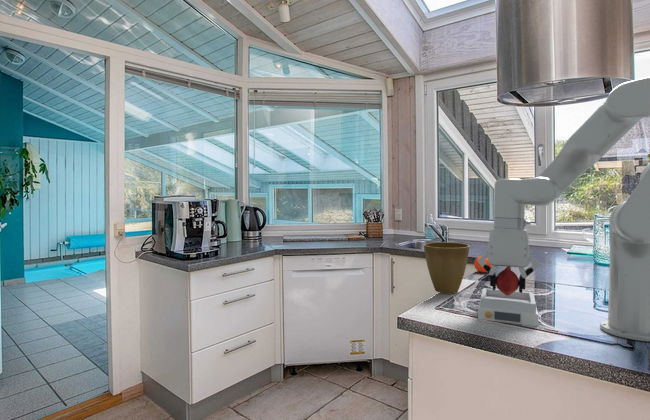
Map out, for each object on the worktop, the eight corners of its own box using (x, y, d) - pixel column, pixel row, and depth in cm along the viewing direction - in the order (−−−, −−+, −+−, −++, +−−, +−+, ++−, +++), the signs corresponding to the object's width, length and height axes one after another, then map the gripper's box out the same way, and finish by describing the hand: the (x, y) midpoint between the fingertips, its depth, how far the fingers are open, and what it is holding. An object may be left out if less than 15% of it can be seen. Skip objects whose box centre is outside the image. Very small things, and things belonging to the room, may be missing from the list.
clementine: (482, 270, 173) (482, 253, 172) (496, 272, 167) (496, 255, 167) (470, 271, 168) (470, 255, 168) (484, 274, 163) (485, 257, 162)
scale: (534, 311, 111) (534, 292, 111) (538, 326, 98) (538, 305, 98) (481, 305, 117) (481, 287, 117) (477, 319, 104) (478, 299, 104)
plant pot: (434, 284, 145) (434, 240, 145) (475, 290, 136) (475, 244, 135) (415, 291, 134) (416, 244, 133) (459, 299, 124) (459, 248, 124)
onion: (505, 299, 104) (506, 268, 104) (490, 293, 109) (491, 265, 109) (523, 297, 106) (524, 267, 105) (508, 292, 111) (508, 264, 111)
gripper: (543, 224, 107) (542, 290, 107) (475, 222, 114) (474, 284, 114) (546, 226, 100) (544, 297, 100) (473, 224, 107) (472, 290, 108)
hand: (507, 289), depth 107 cm, fingers closed on onion, 5 cm apart
